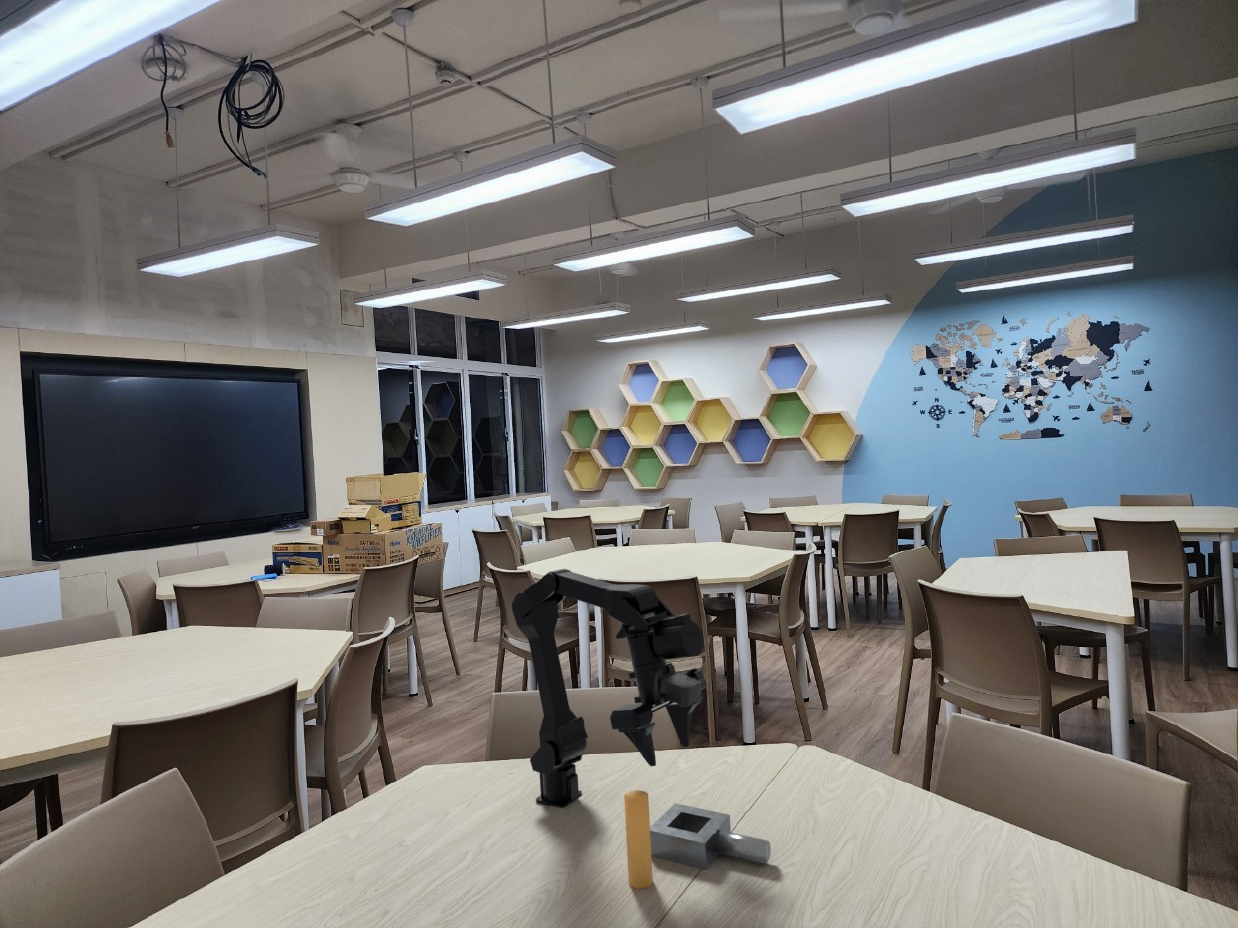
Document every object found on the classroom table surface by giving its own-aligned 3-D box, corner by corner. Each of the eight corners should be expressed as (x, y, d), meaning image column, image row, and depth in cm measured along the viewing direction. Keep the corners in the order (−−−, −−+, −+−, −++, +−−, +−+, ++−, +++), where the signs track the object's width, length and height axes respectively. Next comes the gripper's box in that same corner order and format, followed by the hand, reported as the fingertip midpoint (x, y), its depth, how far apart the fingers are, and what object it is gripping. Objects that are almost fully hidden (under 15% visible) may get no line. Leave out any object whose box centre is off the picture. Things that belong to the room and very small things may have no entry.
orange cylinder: (624, 885, 112) (619, 798, 112) (636, 872, 116) (631, 788, 115) (645, 891, 111) (641, 802, 110) (657, 878, 114) (652, 792, 114)
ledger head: (648, 854, 121) (647, 829, 121) (676, 826, 129) (674, 803, 129) (756, 881, 111) (755, 854, 111) (778, 849, 120) (777, 824, 120)
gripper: (651, 672, 115) (674, 777, 113) (718, 644, 129) (740, 737, 127) (598, 677, 122) (620, 776, 120) (667, 650, 136) (687, 738, 134)
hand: (670, 756), depth 125 cm, fingers open, 9 cm apart
